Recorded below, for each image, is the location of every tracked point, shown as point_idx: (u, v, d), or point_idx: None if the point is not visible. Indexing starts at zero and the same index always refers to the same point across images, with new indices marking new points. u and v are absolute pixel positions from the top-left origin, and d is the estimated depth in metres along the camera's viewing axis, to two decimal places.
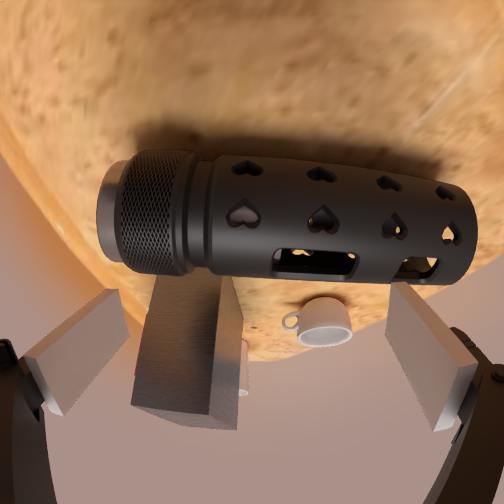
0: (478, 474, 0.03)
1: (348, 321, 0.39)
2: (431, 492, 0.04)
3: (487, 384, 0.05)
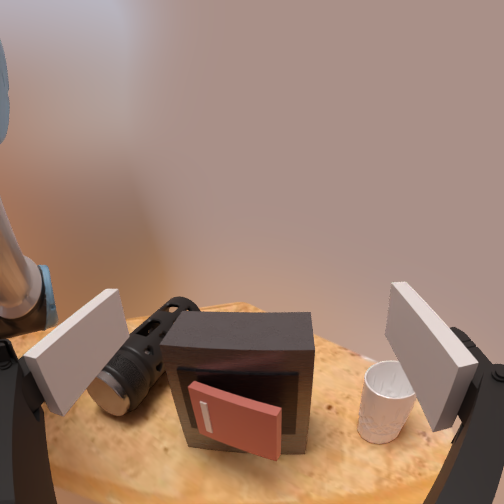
0: (478, 474, 0.03)
1: None
2: (431, 492, 0.04)
3: (487, 384, 0.05)
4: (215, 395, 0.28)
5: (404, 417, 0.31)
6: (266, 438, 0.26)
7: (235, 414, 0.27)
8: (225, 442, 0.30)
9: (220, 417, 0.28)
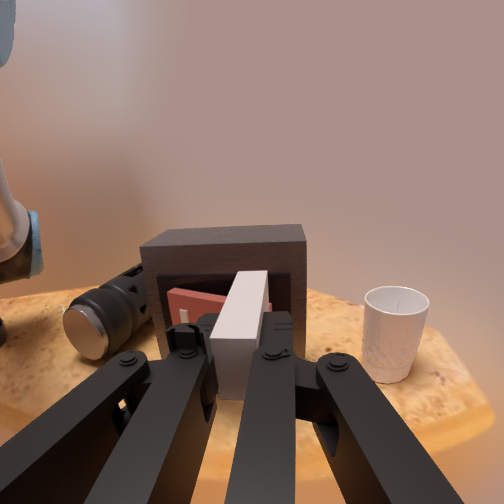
0: (266, 449, 0.05)
1: None
2: None
3: (258, 365, 0.08)
4: (196, 296, 0.26)
5: (414, 345, 0.30)
6: None
7: None
8: None
9: None
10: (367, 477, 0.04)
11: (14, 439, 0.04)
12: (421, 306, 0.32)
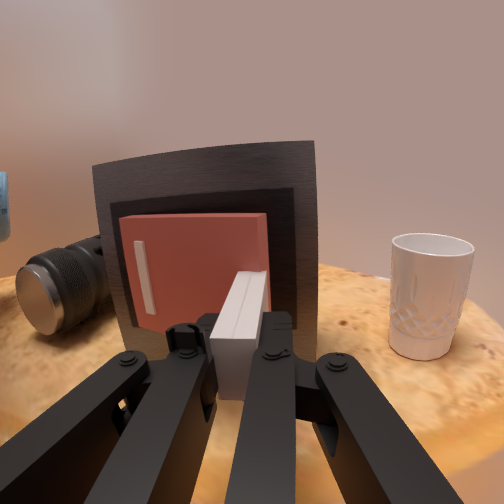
0: (266, 449, 0.05)
1: None
2: None
3: (258, 365, 0.08)
4: (156, 217, 0.18)
5: (459, 304, 0.21)
6: None
7: (185, 246, 0.17)
8: None
9: (164, 267, 0.18)
10: (367, 477, 0.04)
11: (14, 439, 0.04)
12: None
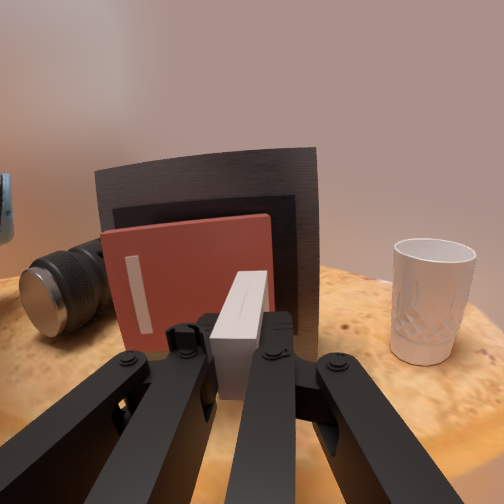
0: (266, 449, 0.05)
1: None
2: None
3: (257, 365, 0.08)
4: (154, 227, 0.17)
5: (461, 310, 0.21)
6: None
7: (195, 252, 0.17)
8: None
9: (166, 278, 0.17)
10: (367, 477, 0.04)
11: (14, 439, 0.04)
12: (463, 260, 0.23)
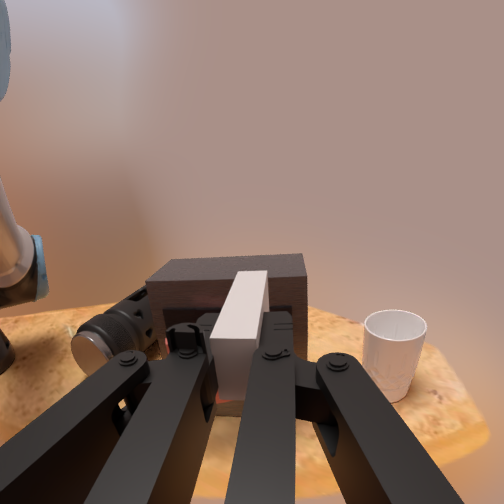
0: (267, 449, 0.05)
1: None
2: None
3: (258, 365, 0.08)
4: None
5: (411, 368, 0.30)
6: None
7: None
8: (217, 401, 0.28)
9: None
10: (367, 477, 0.04)
11: (14, 438, 0.04)
12: (419, 329, 0.32)
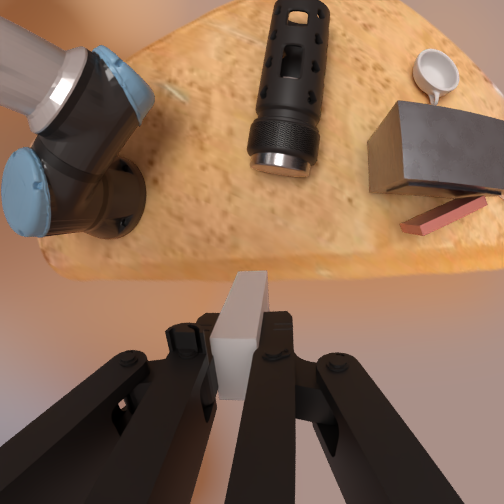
0: (266, 449, 0.05)
1: None
2: None
3: (258, 365, 0.08)
4: (446, 223, 0.29)
5: None
6: None
7: None
8: None
9: None
10: (368, 476, 0.04)
11: (14, 438, 0.04)
12: None
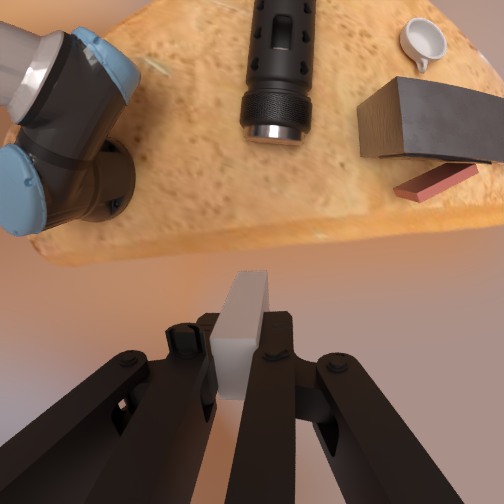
0: (266, 449, 0.05)
1: None
2: None
3: (258, 365, 0.08)
4: (440, 190, 0.30)
5: None
6: None
7: None
8: None
9: None
10: (367, 476, 0.04)
11: (14, 438, 0.04)
12: None
